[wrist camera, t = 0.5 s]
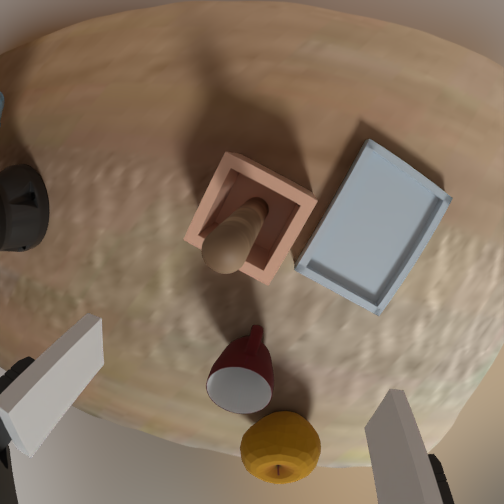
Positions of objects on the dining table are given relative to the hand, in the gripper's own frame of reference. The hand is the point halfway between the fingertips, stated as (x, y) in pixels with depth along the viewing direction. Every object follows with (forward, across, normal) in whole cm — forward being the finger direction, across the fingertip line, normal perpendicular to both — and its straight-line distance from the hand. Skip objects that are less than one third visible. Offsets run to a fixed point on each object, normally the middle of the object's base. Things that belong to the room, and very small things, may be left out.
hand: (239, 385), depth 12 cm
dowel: (+27, -2, +2) cm, 27 cm away
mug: (+28, +1, -16) cm, 32 cm away
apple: (+28, +10, -32) cm, 43 cm away
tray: (+27, +12, +4) cm, 30 cm away
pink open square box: (+28, -2, +2) cm, 28 cm away
